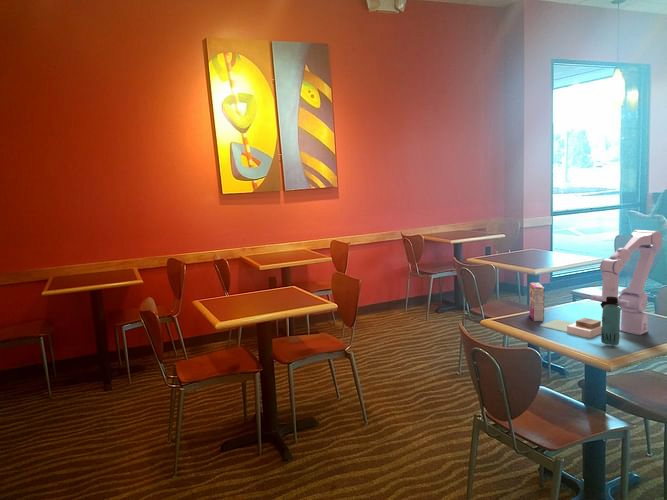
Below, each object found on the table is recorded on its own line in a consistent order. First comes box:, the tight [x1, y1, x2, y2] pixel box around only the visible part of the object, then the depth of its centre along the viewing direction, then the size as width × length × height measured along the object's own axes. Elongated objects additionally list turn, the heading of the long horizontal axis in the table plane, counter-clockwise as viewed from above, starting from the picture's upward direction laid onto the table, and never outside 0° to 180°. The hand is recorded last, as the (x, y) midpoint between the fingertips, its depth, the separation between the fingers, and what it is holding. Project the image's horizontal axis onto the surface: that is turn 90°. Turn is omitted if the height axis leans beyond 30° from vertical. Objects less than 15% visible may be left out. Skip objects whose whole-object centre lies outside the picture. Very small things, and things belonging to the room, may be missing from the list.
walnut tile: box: [575, 317, 602, 329], centre depth 210 cm, size 7×7×2 cm
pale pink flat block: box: [566, 322, 602, 339], centre depth 211 cm, size 10×14×3 cm
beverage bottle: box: [600, 297, 622, 346], centre depth 191 cm, size 6×7×20 cm
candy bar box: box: [528, 282, 545, 322], centre depth 233 cm, size 11×5×16 cm, turn 168°
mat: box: [539, 319, 575, 333], centre depth 221 cm, size 12×14×1 cm
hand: (608, 319), depth 203 cm, fingers closed
